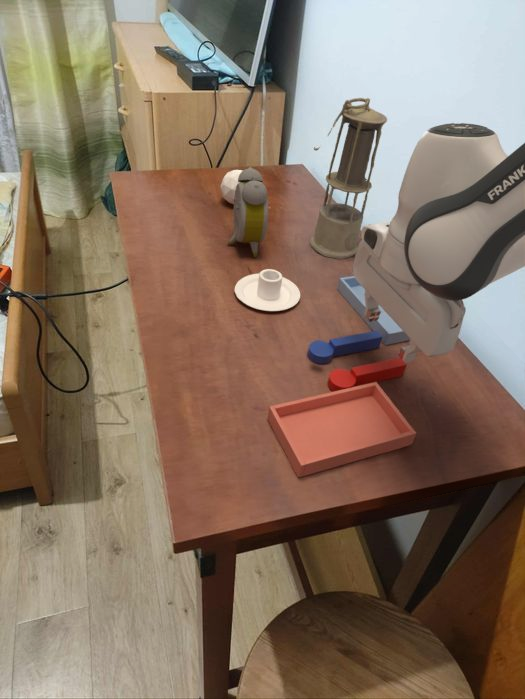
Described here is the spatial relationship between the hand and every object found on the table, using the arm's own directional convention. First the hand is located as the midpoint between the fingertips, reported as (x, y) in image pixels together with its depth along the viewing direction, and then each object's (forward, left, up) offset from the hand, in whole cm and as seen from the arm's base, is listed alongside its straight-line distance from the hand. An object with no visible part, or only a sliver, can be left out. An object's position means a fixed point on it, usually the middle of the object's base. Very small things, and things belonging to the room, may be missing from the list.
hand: (387, 337), depth 74 cm
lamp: (+39, -12, -8) cm, 42 cm away
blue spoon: (+7, +2, -8) cm, 11 cm away
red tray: (-8, +11, -8) cm, 16 cm away
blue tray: (+15, -11, -8) cm, 20 cm away
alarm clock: (+43, +6, -8) cm, 44 cm away
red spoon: (0, +2, -8) cm, 8 cm away
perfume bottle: (+64, 0, -8) cm, 64 cm away
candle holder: (+25, +8, -8) cm, 27 cm away
